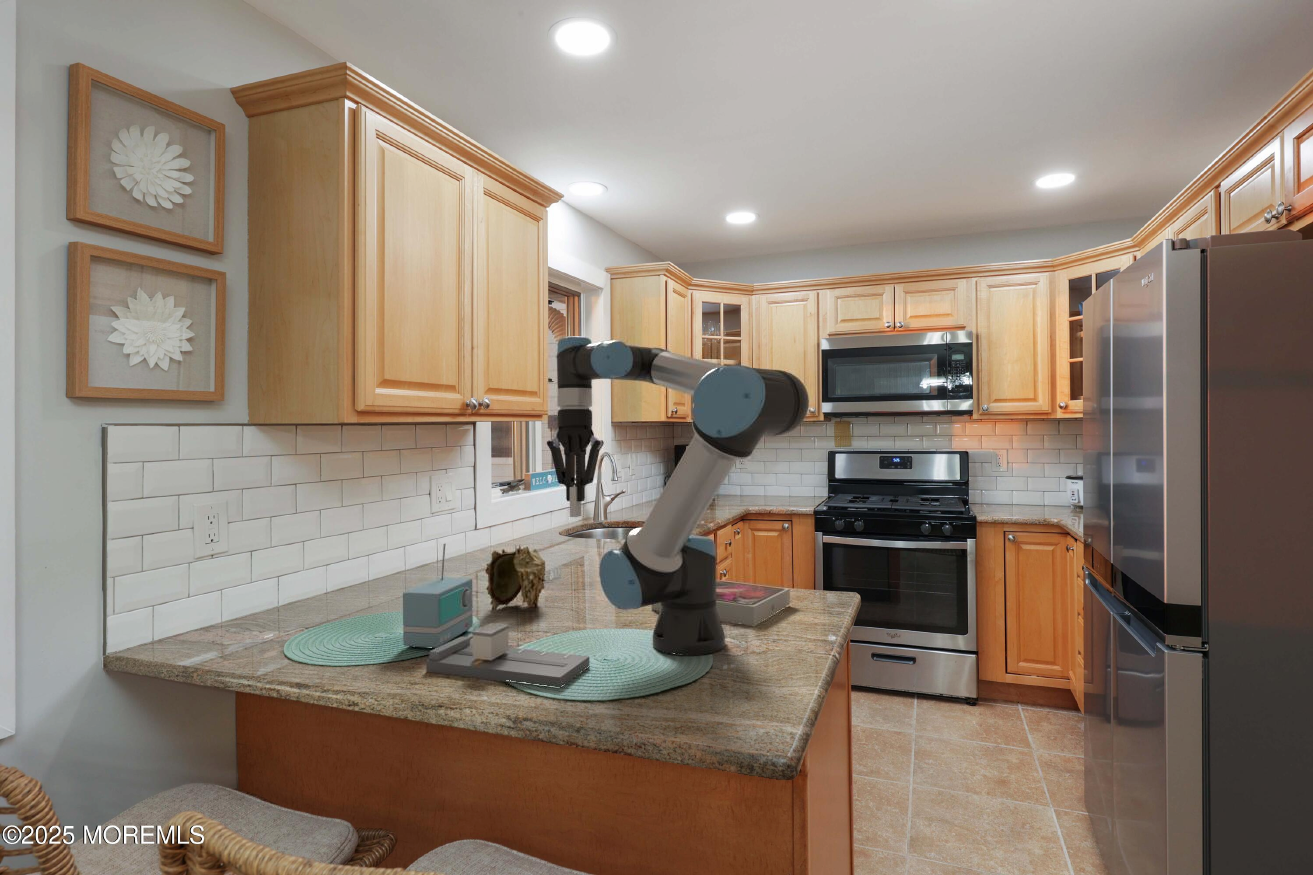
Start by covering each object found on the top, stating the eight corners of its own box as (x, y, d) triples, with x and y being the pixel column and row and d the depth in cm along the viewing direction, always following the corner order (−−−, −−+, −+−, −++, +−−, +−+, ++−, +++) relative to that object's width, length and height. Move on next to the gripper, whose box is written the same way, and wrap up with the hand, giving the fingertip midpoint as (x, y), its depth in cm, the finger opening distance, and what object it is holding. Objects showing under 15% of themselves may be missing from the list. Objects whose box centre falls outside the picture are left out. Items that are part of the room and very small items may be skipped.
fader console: (589, 666, 131) (589, 648, 131) (560, 688, 120) (559, 668, 120) (464, 652, 140) (464, 635, 140) (426, 671, 129) (426, 652, 129)
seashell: (477, 540, 169) (530, 553, 164) (516, 534, 186) (565, 545, 180) (466, 612, 169) (519, 627, 164) (506, 599, 186) (554, 612, 181)
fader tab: (509, 650, 133) (509, 624, 133) (491, 660, 128) (491, 633, 128) (490, 648, 135) (490, 623, 135) (472, 658, 129) (472, 631, 129)
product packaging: (753, 628, 158) (753, 606, 158) (651, 611, 173) (651, 592, 173) (789, 608, 176) (789, 588, 176) (694, 594, 191) (694, 576, 191)
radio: (442, 652, 141) (441, 554, 141) (402, 649, 142) (401, 553, 142) (477, 630, 156) (477, 542, 156) (441, 628, 158) (440, 541, 158)
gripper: (609, 408, 152) (609, 515, 152) (556, 409, 156) (557, 513, 156) (594, 407, 145) (595, 519, 145) (540, 408, 149) (540, 517, 149)
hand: (575, 516), depth 151 cm, fingers closed
